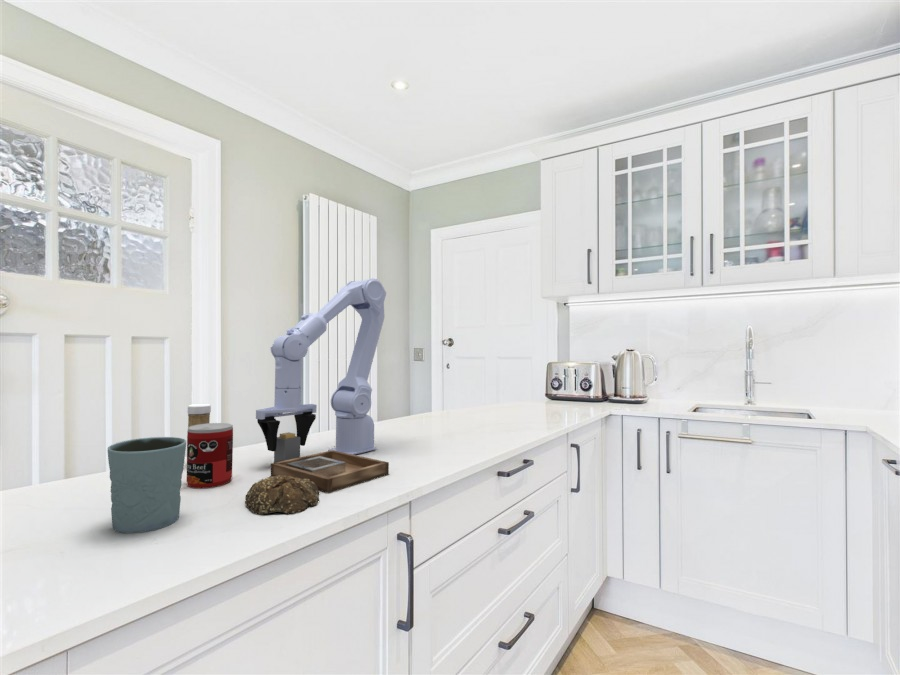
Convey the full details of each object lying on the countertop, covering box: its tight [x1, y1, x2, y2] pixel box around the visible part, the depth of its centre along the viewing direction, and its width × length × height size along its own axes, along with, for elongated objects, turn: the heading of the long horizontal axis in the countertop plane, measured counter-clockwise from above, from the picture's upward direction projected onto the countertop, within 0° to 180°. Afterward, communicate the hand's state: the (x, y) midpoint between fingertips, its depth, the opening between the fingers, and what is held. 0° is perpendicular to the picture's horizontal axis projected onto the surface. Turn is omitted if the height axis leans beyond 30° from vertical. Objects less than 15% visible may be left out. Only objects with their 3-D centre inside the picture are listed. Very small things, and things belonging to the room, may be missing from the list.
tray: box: [270, 450, 390, 494], centre depth 98 cm, size 16×18×2 cm
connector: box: [273, 432, 301, 463], centre depth 107 cm, size 4×4×7 cm
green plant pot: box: [107, 436, 187, 534], centre depth 72 cm, size 10×10×12 cm
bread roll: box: [244, 475, 320, 516], centre depth 82 cm, size 13×12×5 cm
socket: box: [287, 456, 346, 477], centre depth 98 cm, size 8×8×2 cm
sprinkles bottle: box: [187, 403, 212, 428], centre depth 105 cm, size 5×5×14 cm
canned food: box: [186, 422, 234, 489], centre depth 92 cm, size 8×8×11 cm
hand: (286, 447), depth 107 cm, fingers open, 7 cm apart
